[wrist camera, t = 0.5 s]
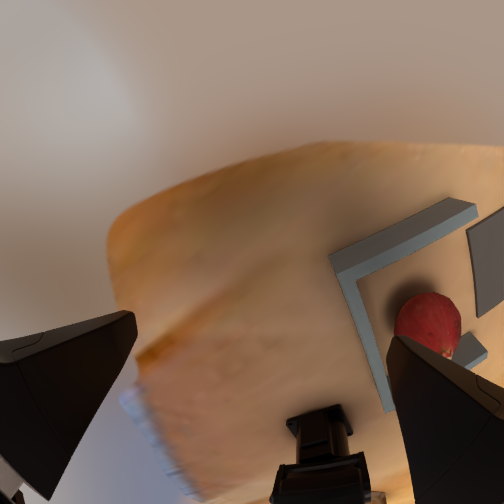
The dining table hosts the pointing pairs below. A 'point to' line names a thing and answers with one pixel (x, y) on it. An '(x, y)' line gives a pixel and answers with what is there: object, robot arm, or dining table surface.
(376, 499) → the coffee box
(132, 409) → the dining table surface
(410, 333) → the onion
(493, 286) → the mat
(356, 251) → the u-shaped frame
